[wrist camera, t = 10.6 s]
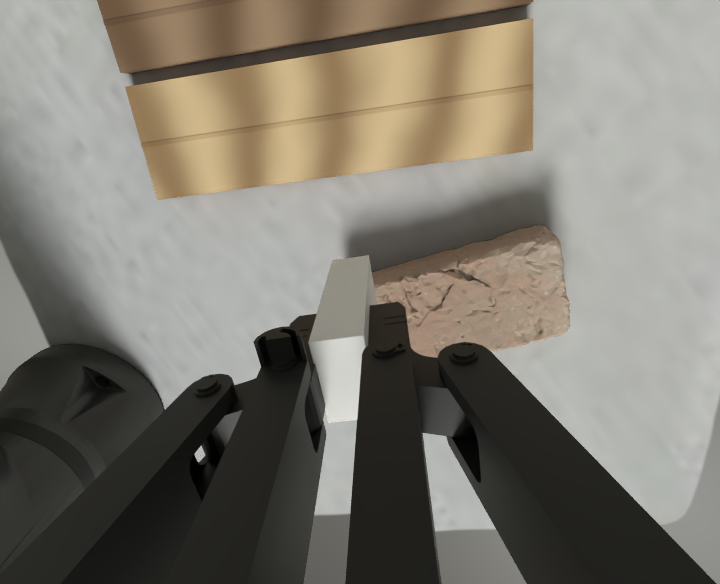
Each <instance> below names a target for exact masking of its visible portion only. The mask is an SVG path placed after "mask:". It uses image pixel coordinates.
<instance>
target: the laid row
mask: <svg viewBox="0 0 720 584" xmlns="http://www.w3.org/2000/svg"><path fill="white" fill-rule="evenodd" d="M97 2H98V5H99V8H100V11H101V14H102V17H103V20H104V24H105V26H106V29H107V33H108V36H109V39H110V42H111V45H112V48H113V51H114V54H115V57H116V60H117V64H118V67H119V70H120V73H129V74H130V73H136V72H142V71H148V70H154V69H159V68H165V67H171V66H177V65H183V64H188V63H194V62H200V61H206V60H212V59H217V58H223V57H229V56H235V55H241V54H247V53H252V52H258V51H264V50H270V49H276V48H281V47H287V46H293V45H299V44H305V43H310V42H316V41H322V40H328V39H334V38H339V37H345V36H351V35H357V34H363V33H368V32H374V31H380V30H386V29H392V28H397V27H403V26H409V25H415V24H421V23H426V22H432V21H438V20H444V19H450V18H456V17H461V16H467V15H473V14H479V13H485V12H490V11H496V10H502V9H508V8H514V7H519V6H525V5H529V4H530V3H531V2H533V0H97Z"/></svg>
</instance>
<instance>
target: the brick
mask: <svg viewBox="0 0 720 584" xmlns="http://www.w3.org/2000/svg"><path fill="white" fill-rule="evenodd" d="M563 264H564V261H563V258H562V252H561V245H560V242H559V240H558V239H557V237H556V236H555V235H554V234H553V233H552V232H551V230H549V229H548V228H547V227H546V226H543V225H540V226H537V225H534V226H532V227H528V228H521V229H518V230H515V231H512V232H509V233H506V234H503V235H500V236H498V237H496V238H494V239H492V240H487V241H481V242H474V243H469V244H467V245H465V246H462V247H460V248H458V249H453V250H445V251H442V252H440V253H436V254H432V255H428V256H426V257H424V258H418V259H414V260H411V261H407V262H405V263H401V264H397V265H394V266H391V267H387V268H383V269H381V270H379V271H375V272H372V277H373V282H374V288H375V294H376V300H377V304H385V303H392V302H399V303H401V304H402V305H403V306H404V307H405V309H406V317H407V324H408V331H409V338H410V345H411V348H412V349H413V350H414V351H415V352H416V353H418V354H420V355H423V356H428V357H437V358H438V355H439V352H440V351H441V350H442V349H443V348H445V347H446V346H449V345H452V344H455V343H460V342H471V343H476V344H479V345H483V346H484V347H486V348H487V349H489V350H490V351H496V350H502V349H506V348H510V347H517V346H521V345H526V344H528V343H530V342H531V341H532V342H538V341H542V340H545V339H547V338H549V337H552V336H560V335H562V334H564V333H565V332H567V330H568V329H569V327H570V316H569V314H570V310H569V304H570V303H569V300H568V298H567V295H566V288H565V281H564V276H563Z"/></svg>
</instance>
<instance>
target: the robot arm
mask: <svg viewBox="0 0 720 584" xmlns="http://www.w3.org/2000/svg"><path fill="white" fill-rule="evenodd" d="M254 344H255V348H256V351H257V354H258V358H259V361H260V364H261V369H260V371H259V374H258V376H257V378H255V379H253V380H250V381H247V382H244V383H241V384H238V385H234V383H233V380H232V378H231V377H230V376H229V375H225V374H215V375H214V374H213V375H209V376H205V377H203V378H201V379H200V380H198V381H196V382H194V383H193V384H191V385H190V386H189V387H188V388H187V389H186V390H185V391H184V392H183V393H182V394H181V395H180V396H179V397H178V398H177V399H176V400H175V401H174V402H173V403H172V404H171V405H170V406H169V407H168V408H167V409H166V410H165V411H164V410H163V406H162V403H161V401H160V399H159V397H158V395H157V393H156V392H155V390H154V388H153V387H152V386H151V384H150V383H149V382H148V381H147V380H146V378H145V377H144V376H143V375H142V374H141V373H139V372H138V371H137V370H136V369H135V368H134V367H132V366H131V365H130V364H128V363H127V362H125V361H124V360H122V359H120V358H118V357H116V356H115V355H112V354H110V353H108V352H106V351H103V350H100V349H97V348H93V347H89V346H84V345H75V344H66V345H57V346H53V347H49V348H46V349H44V350H42V351H40V352H38V353H37V354H35V355H34V356H33V357H31V358H30V359H28V360H27V361H26V362H24V363H23V364H22V365H20V366H19V367H18V368H17V369H16V370H15V371H14V372H13V373H12V374H11V375H10V377H9V378H8V380H7V383H6V384H5V386H4V387H3V388H2V390H1V391H0V584H303V582H304V575H305V569H306V563H307V556H308V549H309V543H310V537H311V530H312V523H313V517H314V511H315V505H316V498H317V492H318V485H319V479H320V472H321V466H322V459H323V453H324V446H325V440H326V430H325V426H324V422H323V416H324V411H325V412H326V416H327V420H328V423H333V422H342V421H351V420H357V431H356V445H355V458H354V472H353V486H352V500H351V514H350V528H349V542H348V556H347V570H346V584H442V583H441V576H440V568H439V560H438V553H437V545H436V537H435V529H434V521H433V513H432V505H431V497H430V490H429V482H428V474H427V466H426V458H425V451H424V441H423V434H422V433H429V434H436V435H443V436H447V440H448V444H449V446H450V447H451V449H452V451H453V453H454V455H455V456H456V458H457V460H458V462H459V463H460V465H461V467H462V469H463V471H464V472H465V474H466V476H467V478H468V480H469V481H470V483H471V485H472V487H473V488H474V490H475V492H476V494H477V496H478V497H479V499H480V501H481V503H482V505H483V506H484V508H485V510H486V512H487V513H488V515H489V517H490V519H491V521H492V522H493V524H494V526H495V528H496V530H497V531H498V533H499V535H500V537H501V538H502V540H503V542H504V544H505V546H506V547H507V549H508V551H509V553H510V555H511V556H512V558H513V560H514V562H515V563H516V565H517V567H518V569H519V571H520V572H521V574H522V576H523V578H524V580H525V581H526V583H527V584H716V583H715V582H714V581H713V580H712V579H711V578H710V577H709V576H708V575H707V574H706V573H705V572H704V571H703V569H702V568H701V567H700V566H699V565H698V564H697V563H696V562H695V561H694V560H693V559H692V558H691V557H690V556H689V555H688V554H687V553H686V552H685V551H684V550H683V549H682V548H681V547H680V546H679V545H678V544H677V543H676V542H675V541H674V540H673V539H672V538H671V537H670V536H669V535H668V533H667V532H665V530H663V528H662V527H661V526H660V525H659V524H658V523H657V522H656V521H655V520H654V519H653V518H652V517H651V516H650V515H649V514H648V513H647V512H646V511H645V510H644V509H643V508H642V507H641V506H640V505H639V504H638V503H637V502H636V501H635V500H634V499H633V497H632V496H631V495H630V494H629V493H628V492H627V491H626V490H625V489H624V488H623V487H622V486H621V485H620V484H619V483H618V482H617V481H616V480H615V479H614V478H613V477H612V476H611V475H610V474H609V473H608V472H607V471H606V470H605V469H604V468H603V467H602V466H601V465H600V464H599V463H598V461H597V460H596V459H595V458H594V457H593V456H592V455H591V454H590V453H589V452H588V451H587V450H586V449H585V448H584V447H583V446H582V445H581V444H580V443H579V442H578V441H577V440H576V439H575V438H574V437H573V436H572V435H571V434H570V433H569V432H568V431H567V430H566V429H565V428H564V426H563V425H562V424H561V423H560V422H559V421H558V420H557V419H556V418H555V417H554V416H553V415H552V414H551V413H550V412H549V411H548V410H547V409H546V408H545V407H544V406H543V405H542V404H541V403H540V402H539V401H538V400H537V399H536V398H535V397H534V396H533V395H532V394H531V393H530V392H529V390H528V389H527V388H526V387H525V386H524V385H523V384H522V383H521V382H520V381H519V380H518V379H517V378H516V377H515V376H514V375H513V374H512V373H511V372H510V371H509V370H508V369H507V368H506V367H505V366H504V365H503V364H502V363H501V362H500V361H499V360H498V359H497V358H496V357H495V356H494V354H493V353H492V352H491V351H490V350H489V349H487V348H486V347H484V346H483V345H479V344H476V343H471V342H460V343H455V344H452V345H449V346H446V347H445V348H443V349H442V350H441V351H440V352H439V355H438V358H437V357H428V356H423V355H420V354H418V353H416V352H415V351H414V350H413V349H412V348H411V345H410V338H409V331H408V324H407V317H406V309H405V307H404V306H403V305H402V304H401V303H399V302H392V303H385V304H377V300H376V294H375V288H374V282H373V277H372V271H371V265H370V259H369V255H366V256H359V257H353V258H346V259H339V260H333V261H332V264H331V267H330V271H329V274H328V278H327V281H326V284H325V288H324V291H323V294H322V298H321V301H320V305H319V308H318V311H317V314H312V315H304V316H299V317H298V318H296V319H295V320H294V321H293V322H292V323H291V324H290V326H289V327H279V328H275V329H272V330H269V331H267V332H264V333H263V334H261V335H260V336H258V337H257V338H256V339H255V341H254ZM201 445H202V448H203V450H204V452H205V457H204V458H203V459H202V460H201V461H200V462H199V463H198V462H197V460H196V458H195V455H194V454H195V452H196V451H197V450H198V448H199V447H200V446H201Z"/></svg>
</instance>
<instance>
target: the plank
mask: <svg viewBox="0 0 720 584" xmlns="http://www.w3.org/2000/svg"><path fill="white" fill-rule="evenodd" d="M125 88H126V92H127V95H128V99H129V102H130V106H131V109H132V113H133V116H134V120H135V123H136V127H137V130H138V134H139V137H140V141H141V145H142V148H143V151H144V154H145V158H146V161H147V165H148V168H149V172H150V175H151V179H152V182H153V186H154V189H155V193H156V196H157V200H160V199H168V198H176V197H183V196H191V195H198V194H206V193H213V192H221V191H229V190H236V189H244V188H251V187H259V186H266V185H274V184H282V183H289V182H297V181H304V180H312V179H319V178H327V177H335V176H342V175H350V174H357V173H365V172H372V171H380V170H388V169H395V168H403V167H410V166H418V165H425V164H433V163H441V162H448V161H456V160H463V159H471V158H478V157H486V156H494V155H501V154H509V153H516V152H524V151H531V150H533V18H532V19H526V20H520V21H514V22H508V23H502V24H496V25H490V26H484V27H478V28H472V29H466V30H460V31H455V32H449V33H443V34H437V35H431V36H425V37H419V38H413V39H407V40H401V41H395V42H389V43H383V44H377V45H371V46H365V47H359V48H354V49H348V50H342V51H336V52H330V53H324V54H318V55H312V56H306V57H300V58H294V59H288V60H282V61H276V62H270V63H264V64H259V65H253V66H247V67H241V68H235V69H229V70H223V71H217V72H211V73H205V74H199V75H193V76H187V77H181V78H175V79H169V80H164V81H158V82H152V83H146V84H140V85H134V86H128V87H125Z"/></svg>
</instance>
